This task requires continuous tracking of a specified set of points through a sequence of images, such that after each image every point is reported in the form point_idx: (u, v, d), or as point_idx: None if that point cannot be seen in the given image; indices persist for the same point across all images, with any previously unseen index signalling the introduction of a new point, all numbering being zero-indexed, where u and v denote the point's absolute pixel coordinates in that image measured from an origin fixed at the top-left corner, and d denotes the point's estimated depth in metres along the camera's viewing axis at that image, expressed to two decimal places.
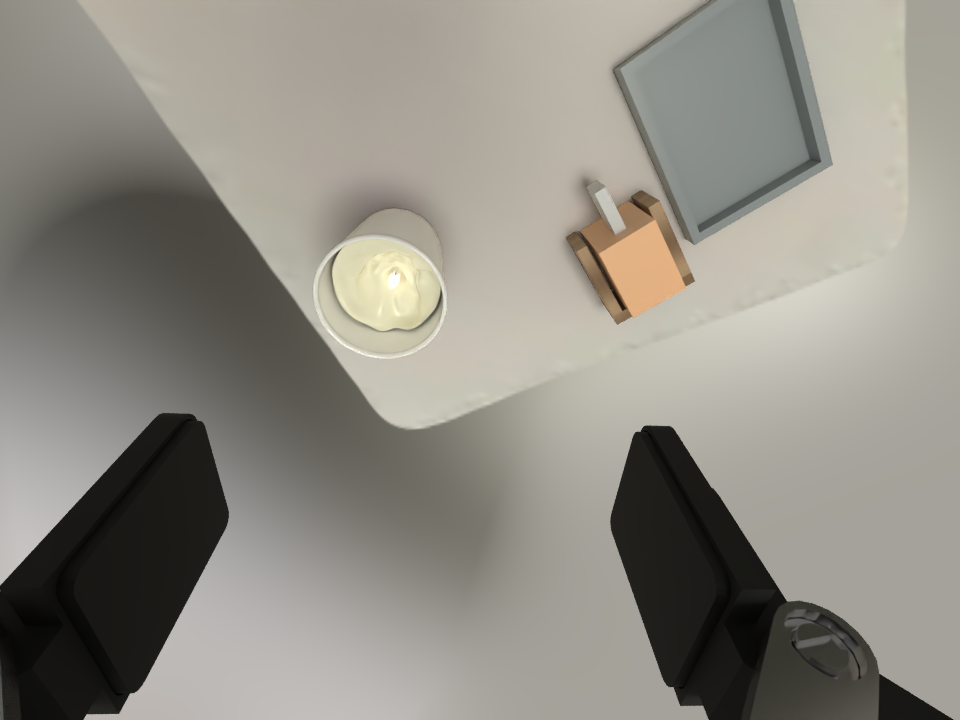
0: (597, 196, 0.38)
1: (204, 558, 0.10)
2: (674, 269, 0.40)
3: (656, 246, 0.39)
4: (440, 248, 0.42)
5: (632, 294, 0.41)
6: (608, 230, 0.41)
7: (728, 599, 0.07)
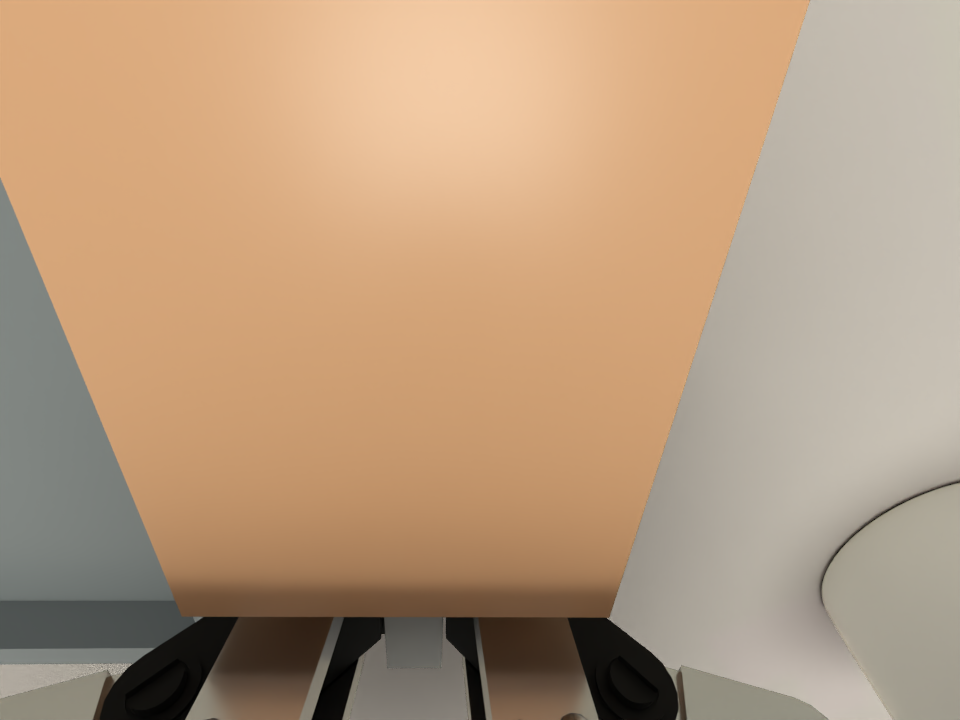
0: (436, 658, 0.09)
1: None
2: (34, 171, 0.03)
3: (208, 480, 0.04)
4: (919, 622, 0.13)
5: (627, 196, 0.03)
6: None
7: None
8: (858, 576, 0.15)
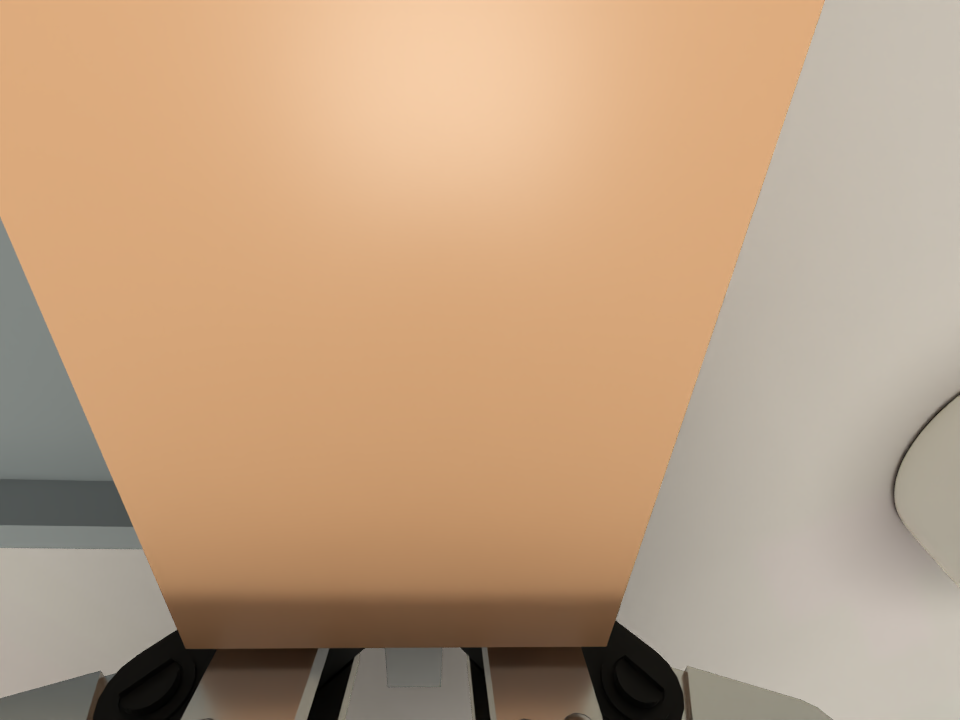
0: (435, 677, 0.09)
1: None
2: (45, 240, 0.03)
3: (213, 522, 0.05)
4: None
5: (623, 257, 0.03)
6: None
7: None
8: (951, 453, 0.13)
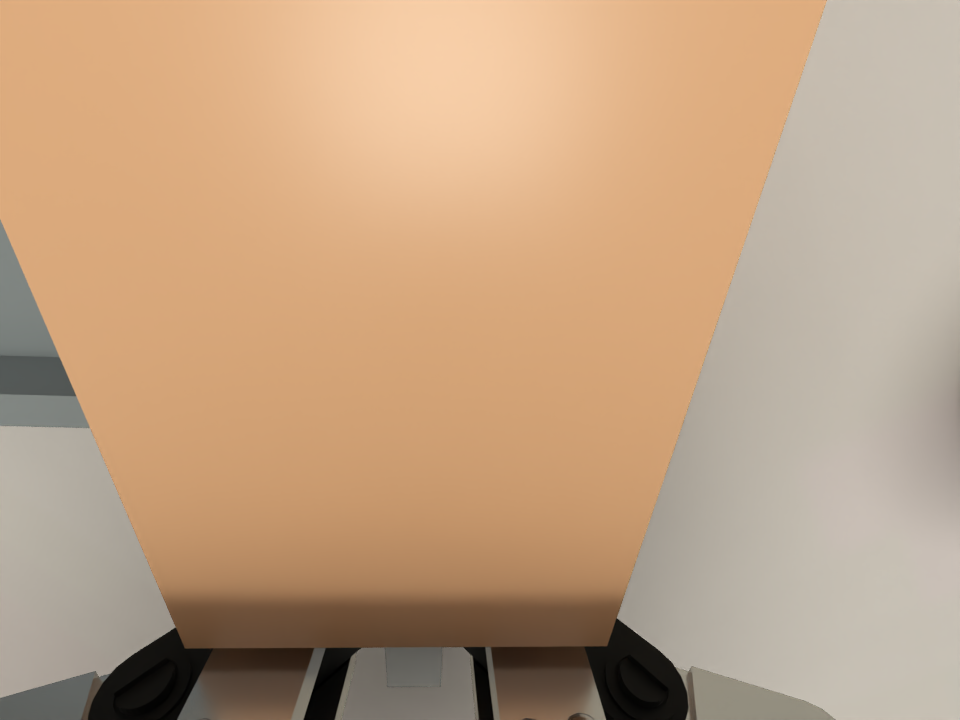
0: (435, 677, 0.09)
1: None
2: (44, 237, 0.03)
3: (213, 520, 0.05)
4: None
5: (626, 255, 0.03)
6: None
7: None
8: None
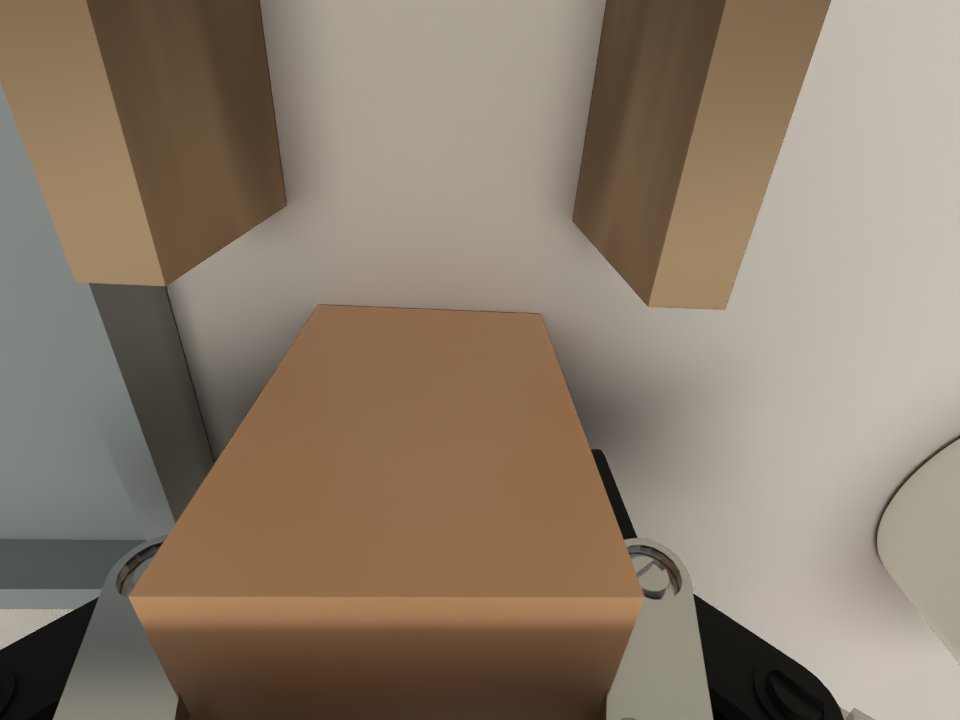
0: None
1: None
2: (205, 715, 0.06)
3: None
4: None
5: (537, 705, 0.06)
6: None
7: None
8: (928, 511, 0.13)
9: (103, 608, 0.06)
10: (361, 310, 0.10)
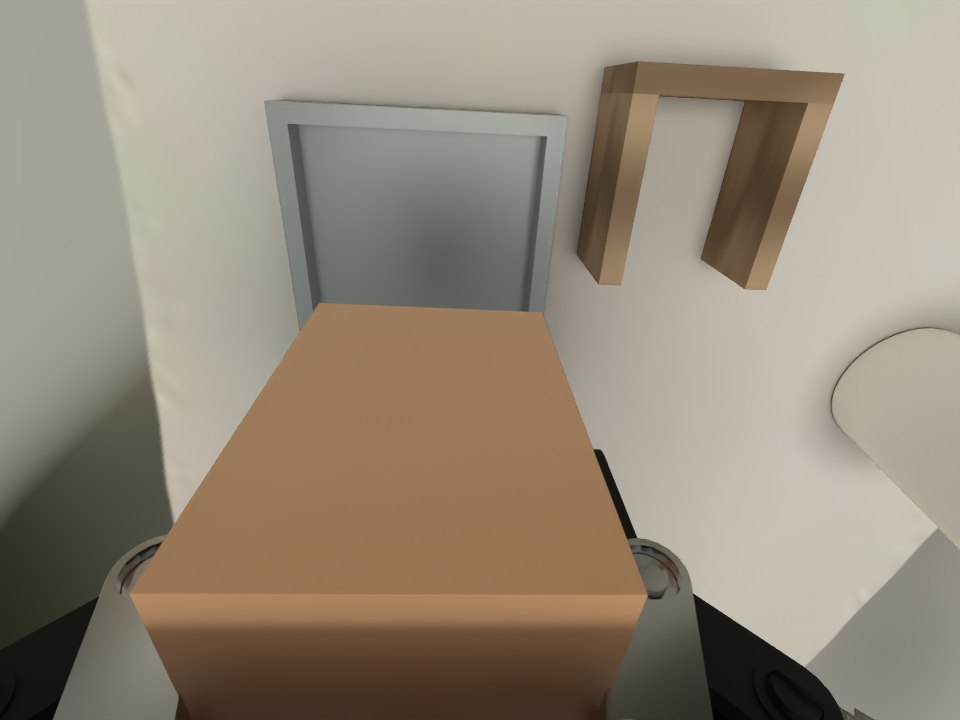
0: None
1: None
2: (206, 713, 0.06)
3: None
4: (880, 393, 0.27)
5: (540, 703, 0.06)
6: None
7: None
8: (851, 384, 0.29)
9: (103, 608, 0.06)
10: (362, 308, 0.10)
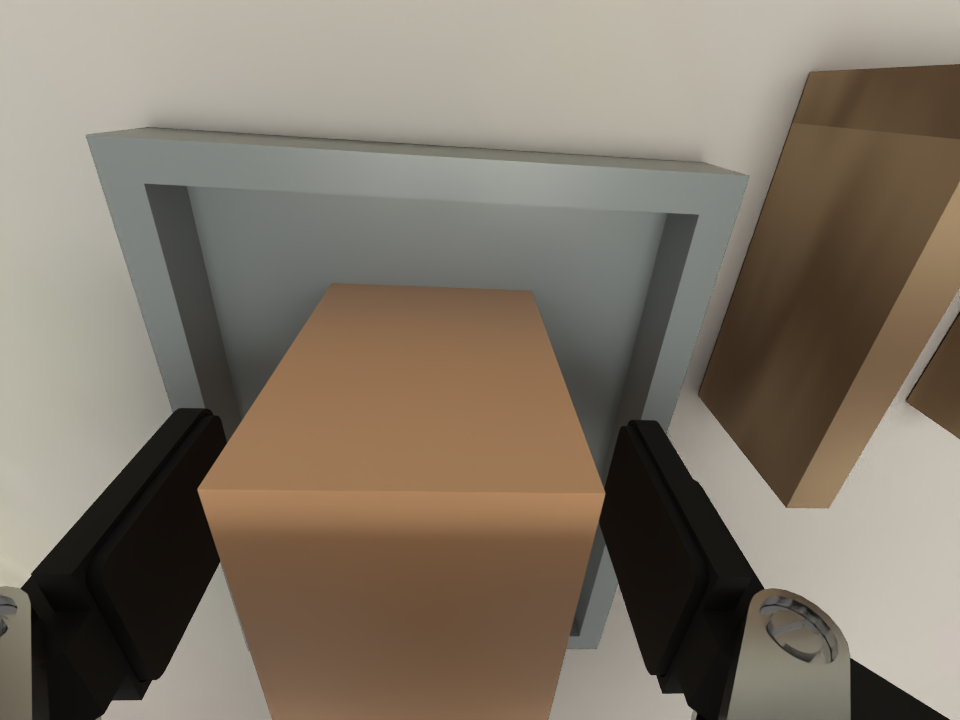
0: None
1: None
2: (251, 603, 0.07)
3: (310, 698, 0.08)
4: None
5: (523, 597, 0.07)
6: None
7: (706, 587, 0.07)
8: None
9: None
10: (370, 287, 0.12)
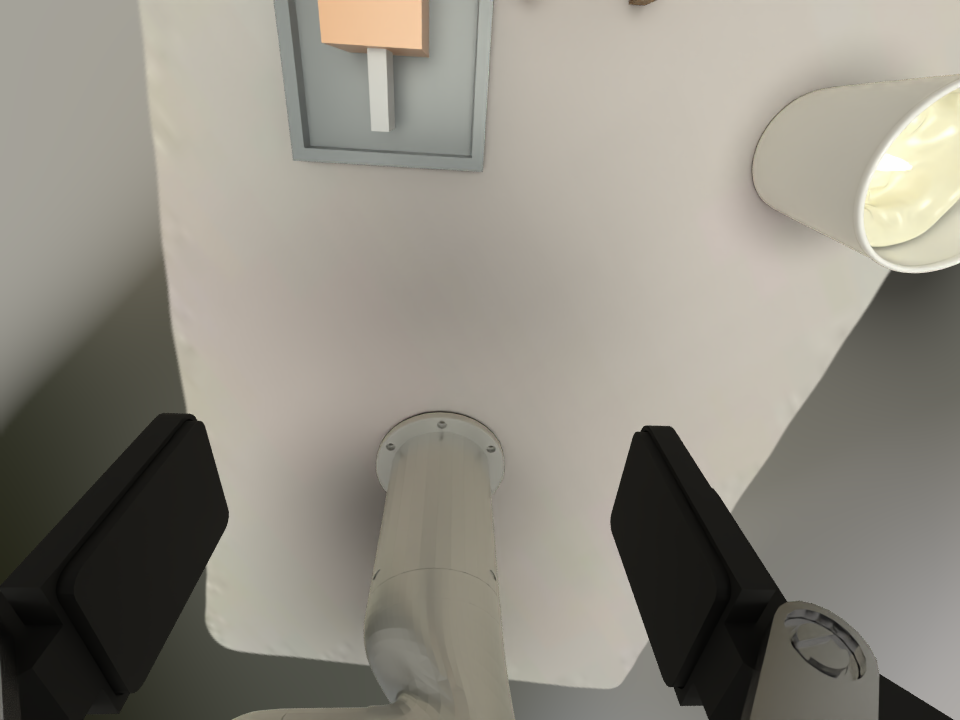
0: (387, 125, 0.27)
1: (204, 558, 0.10)
2: None
3: None
4: (785, 133, 0.31)
5: None
6: (392, 51, 0.27)
7: (728, 599, 0.07)
8: (765, 142, 0.33)
9: None
10: None
